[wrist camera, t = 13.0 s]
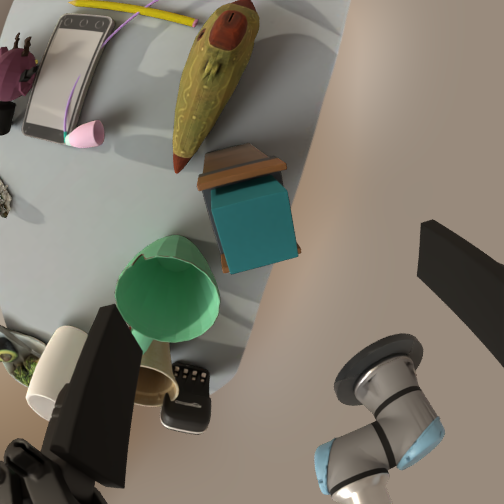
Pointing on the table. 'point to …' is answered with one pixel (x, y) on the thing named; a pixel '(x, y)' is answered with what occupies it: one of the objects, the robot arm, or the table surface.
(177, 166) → the ocarina
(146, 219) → the table surface
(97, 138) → the earplug
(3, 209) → the grey jagged fragment
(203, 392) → the battery charger
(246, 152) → the wooden tower block
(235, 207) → the teal cube
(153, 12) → the pencil
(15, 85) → the figurine
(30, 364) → the salad plate
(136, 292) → the mug
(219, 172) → the base
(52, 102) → the smartphone
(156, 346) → the flower pot
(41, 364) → the cup
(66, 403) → the robot arm
